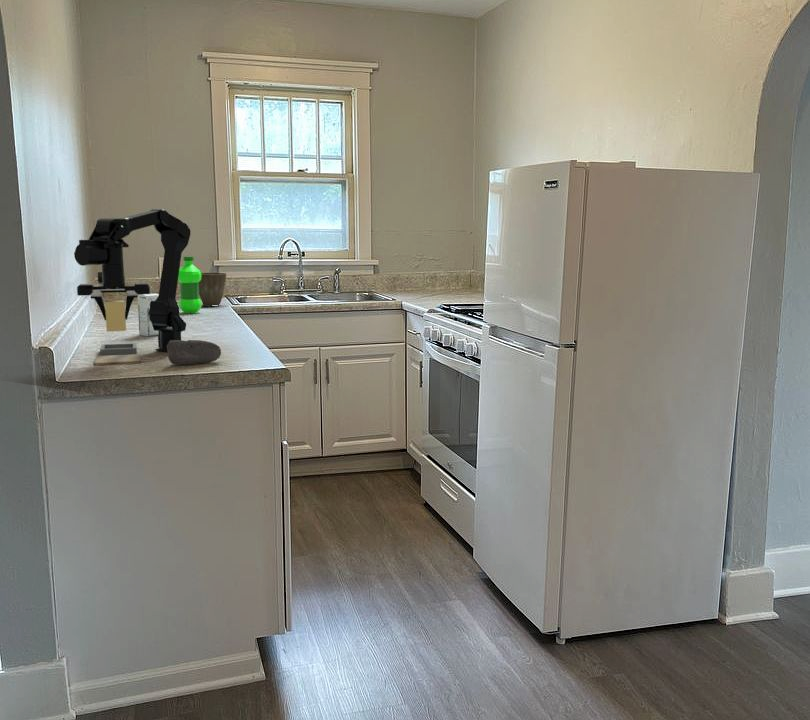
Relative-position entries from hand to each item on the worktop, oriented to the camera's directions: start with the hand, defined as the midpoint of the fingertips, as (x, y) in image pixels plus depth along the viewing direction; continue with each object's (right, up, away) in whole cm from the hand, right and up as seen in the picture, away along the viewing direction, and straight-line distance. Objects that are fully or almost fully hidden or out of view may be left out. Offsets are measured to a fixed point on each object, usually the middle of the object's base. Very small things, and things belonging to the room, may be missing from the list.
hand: (116, 319), depth 208 cm
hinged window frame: (-7, -8, +20) cm, 22 cm away
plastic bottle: (-15, +10, +123) cm, 124 cm away
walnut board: (0, -11, +2) cm, 12 cm away
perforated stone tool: (+23, -13, -2) cm, 26 cm away
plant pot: (-13, +15, +153) cm, 154 cm away
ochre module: (0, -3, +1) cm, 3 cm away
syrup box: (-8, -3, +53) cm, 53 cm away
